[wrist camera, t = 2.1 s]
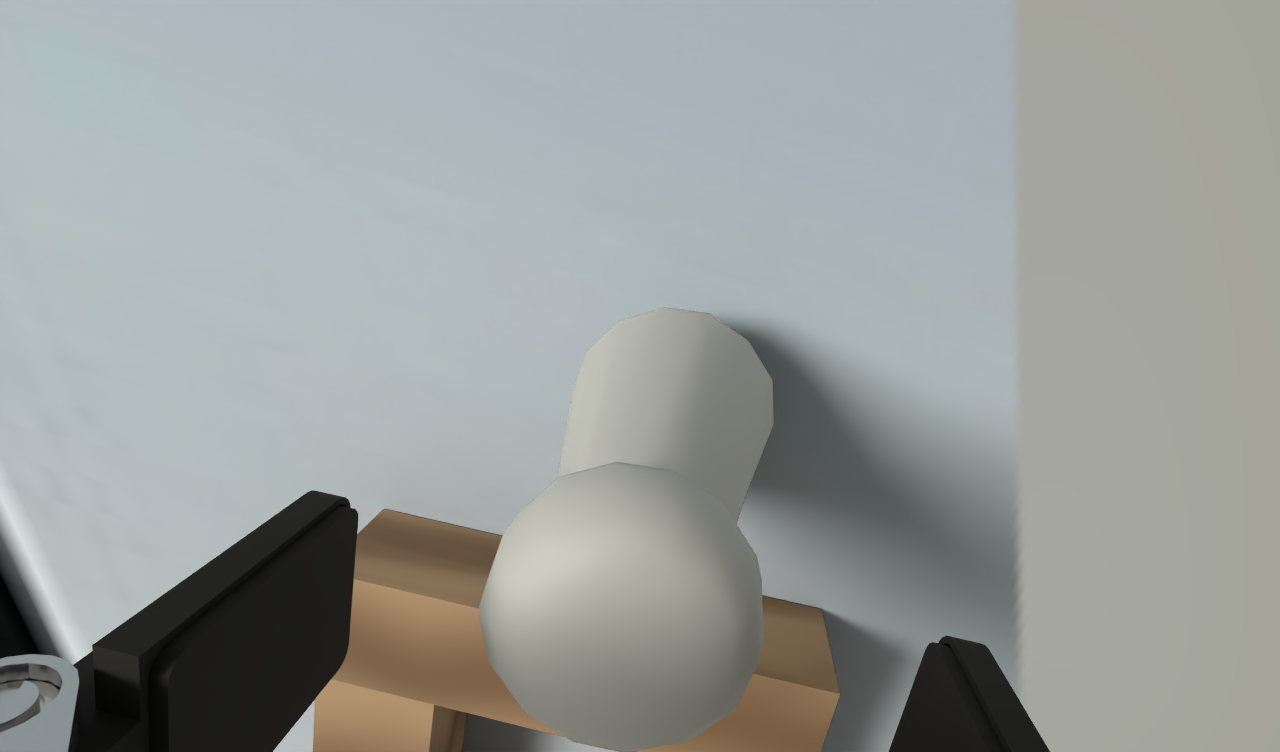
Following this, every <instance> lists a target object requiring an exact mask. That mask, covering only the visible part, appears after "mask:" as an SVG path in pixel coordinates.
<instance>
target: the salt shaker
mask: <svg viewBox="0 0 1280 752" xmlns="http://www.w3.org/2000/svg"><path fill="white" fill-rule="evenodd" d="M773 425H774V416H773V380H772V379H771V377H770V375H769V374H768V372H767V370H766V369H765V367H764V366H763V364H762V362H761V361H760V359H759V357H758V356H757V354H756V352H755V351H754V349H753V347H752V346H751V344H750V343H749V341H748V340H747V339H745V338H744V337H743V336H741V335H740V334H738V333H737V332H735V331H734V330H732V329H731V328H730V327H728V326H727V325H725V324H724V323H722V322H721V321H719V320H718V319H717V318H715V317H714V316H712V315H711V314H709V313H703V312H695V311H688V310H680V309H673V308H665V307H664V308H660V309H657V310H654V311H650V312H647V313H644V314H641V315H637V316H634V317H631V318H627V319H624V320H621V321H619V322H617V323H616V324H615V325H614V326H613V327H612V328H611V329H610V330H609V331H608V332H607V333H606V334H605V335H604V336H603V337H602V338H601V339H600V340H599V341H598V342H597V343H596V344H595V345H594V346H593V347H592V348H591V349H589V350H588V351H587V352H586V355H585V358H584V361H583V364H582V367H581V369H580V372H579V375H578V378H577V381H576V384H575V387H574V389H573V392H572V397H571V403H570V409H569V415H568V420H567V426H566V432H565V437H564V443H563V449H562V454H561V460H560V466H559V472H558V477H557V479H556V480H554V481H553V482H552V483H551V484H550V485H549V486H548V487H547V488H546V489H545V490H544V491H542V492H541V493H540V494H539V495H538V496H537V497H536V498H535V499H534V500H533V501H532V502H530V503H529V504H528V505H527V506H526V507H525V508H524V509H523V510H522V511H521V512H520V513H518V514H517V516H516V517H515V519H514V520H513V521H512V523H511V524H510V525H509V527H508V528H507V529H506V531H505V532H504V533H503V536H502V539H501V542H500V545H499V548H498V550H497V553H496V556H495V559H494V562H493V565H492V568H491V570H490V573H489V576H488V579H487V582H486V585H485V588H484V592H483V595H482V599H481V602H480V606H479V609H478V613H479V618H480V623H481V628H482V632H483V637H484V642H485V647H486V652H487V656H488V661H489V664H490V665H491V667H492V668H493V670H494V671H495V672H496V674H497V675H498V676H499V678H500V679H501V681H502V682H503V683H504V685H505V686H506V687H507V689H508V690H509V692H510V693H511V694H512V696H513V697H514V698H515V700H516V701H517V703H518V704H519V705H520V707H521V708H522V709H523V710H524V711H525V712H526V713H527V714H528V715H529V716H531V717H533V718H534V719H536V720H538V721H539V722H541V723H543V724H544V725H546V726H548V727H549V728H551V729H553V730H554V731H556V732H558V733H559V734H561V735H563V736H564V737H566V738H568V739H569V740H571V741H573V742H576V743H581V744H586V745H590V746H595V747H600V748H605V749H609V750H614V751H619V752H631V751H637V750H642V749H648V748H653V747H659V746H665V745H670V744H676V743H681V742H687V741H689V740H691V739H692V738H694V737H696V736H697V735H699V734H700V733H702V732H703V731H705V730H706V729H708V728H709V727H711V726H712V725H714V724H715V723H717V722H719V721H720V720H722V719H723V718H725V717H726V716H728V715H729V714H731V713H732V712H734V711H735V709H736V707H737V705H738V703H739V701H740V699H741V697H742V695H743V693H744V691H745V689H746V687H747V685H748V683H749V681H750V679H751V677H752V675H753V673H754V671H755V669H756V667H757V665H758V663H759V658H760V653H761V647H762V642H763V637H764V626H763V603H762V581H761V575H760V570H759V565H758V560H757V556H756V554H755V552H754V551H753V549H752V548H751V546H750V545H749V543H748V541H747V540H746V538H745V537H744V535H743V534H742V532H741V530H740V529H739V527H738V526H737V521H738V518H739V515H740V512H741V509H742V506H743V503H744V500H745V497H746V494H747V491H748V488H749V486H750V483H751V481H752V478H753V476H754V473H755V470H756V468H757V465H758V463H759V460H760V458H761V455H762V453H763V450H764V448H765V445H766V443H767V440H768V438H769V435H770V432H771V430H772V427H773Z"/></svg>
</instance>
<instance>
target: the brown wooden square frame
mask: <svg viewBox="0 0 1280 752" xmlns="http://www.w3.org/2000/svg"><path fill="white" fill-rule="evenodd" d="M501 539H502V536H500V535H495V534H491V533H487V532H482V531H478V530H474V529H469V528H465V527H461V526H456V525H452V524H447V523H443V522H439V521H434V520H430V519H426V518H421V517H417V516H413V515H408V514H404V513H399V512H395V511H391V510H386V509H383V510H382V511H381V512H380V513H379V514H378V515H377V516H376V517H375V518H374V519H373V520H372V521H371V522H370V523H369V524H368V525H367V526H366V527H365V528H363V529H362V530H361V531H360V532H359V533H358V534H357V542H356V555H355V569H354V582H353V595H352V609H351V622H350V636H349V646H348V651H347V655H346V657H345V660H344V662H343V664H342V666H341V667H340V669H339V670H338V671H337V673H336V674H335V675H334V676H333V678H332V679H331V680H330V681H329V683H328V684H327V685H326V686H325V687H324V689H323V690H322V691H321V692H320V694H319V695H318V696H317V697H316V699H315V713H314V740H313V752H462V747H463V739H464V731H465V724H466V716H467V713H470V714H474V715H478V716H482V717H486V718H490V719H494V720H498V721H502V722H506V723H510V724H514V725H518V726H522V727H526V728H530V729H534V730H538V731H542V732H546V733H550V734H554V735H558V736H563V735H561V734H559V733H558V732H556V731H554V730H553V729H551V728H549V727H548V726H546V725H544V724H543V723H541V722H539V721H538V720H536V719H534V718H533V717H531V716H529V715H528V714H527V713H526V712H525V711H524V710H523V709H522V708H521V707H520V705H519V704H518V703H517V701H516V700H515V698H514V697H513V696H512V694H511V693H510V692H509V690H508V689H507V687H506V686H505V685H504V683H503V682H502V681H501V679H500V678H499V676H498V675H497V674H496V672H495V671H494V670H493V668H492V667H491V665H490V664H489V661H488V656H487V652H486V647H485V642H484V637H483V632H482V628H481V623H480V618H479V613H478V609H479V606H480V602H481V599H482V595H483V592H484V588H485V585H486V582H487V579H488V576H489V573H490V570H491V568H492V565H493V562H494V559H495V556H496V553H497V550H498V548H499V545H500V542H501ZM762 603H763V626H764V637H763V642H762V647H761V653H760V658H759V663H758V665H757V667H756V669H755V671H754V673H753V675H752V677H751V679H750V681H749V683H748V685H747V687H746V689H745V691H744V693H743V695H742V697H741V699H740V701H739V703H738V705H737V707H736V709H735V711H734V712H732V713H731V714H729V715H728V716H726V717H725V718H723V719H722V720H720V721H719V722H717V723H715V724H714V725H712V726H711V727H709V728H708V729H706V730H705V731H703V732H702V733H700V734H699V735H697V736H696V737H694V738H692V739H691V740H689V741H687V742H681V743H676V744H670V745H665V746H659V747H653V748H648V749H642V750H637V751H631V752H821V749H822V747H823V744H824V741H825V738H826V735H827V732H828V729H829V726H830V723H831V720H832V717H833V714H834V711H835V708H836V706H837V703H838V700H839V697H840V691H839V686H838V682H837V677H836V673H835V668H834V664H833V659H832V655H831V651H830V646H829V642H828V637H827V633H826V628H825V624H824V619H823V615H822V610H821V609H818V608H814V607H809V606H805V605H801V604H796V603H792V602H788V601H783V600H779V599H774V598H770V597H766V596H762ZM563 737H564V736H563Z"/></svg>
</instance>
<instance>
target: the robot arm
mask: <svg viewBox="0 0 1280 752" xmlns="http://www.w3.org/2000/svg"><path fill="white" fill-rule="evenodd" d="M357 528H358V513H357V511H356V510H355V509H352V508H350V503H349V500H348V499H347V498H345V497H340V496H336V495H332V494H327V493H323V492H319V491H310V492H308V493H306V494H305V495H303V496H302V497H300V498H299V499H298V500H296V501H295V502H293V503H292V504H290V505H289V506H288V507H286V508H285V509H283V510H282V511H281V512H279V513H278V514H276V515H275V516H274V517H272V518H271V519H269V520H268V521H267V522H265V523H264V524H262V525H261V526H259V527H258V528H257V529H255V530H254V531H252V532H251V533H250V534H248V535H247V536H245V537H244V538H243V539H241V540H240V541H238V542H237V543H236V544H234V545H233V546H231V547H230V548H229V549H227V550H226V551H224V552H223V553H221V554H220V555H219V556H217V557H216V558H214V559H213V560H212V561H210V562H209V563H207V564H206V565H205V566H203V567H202V568H200V569H199V570H198V571H196V572H195V573H193V574H192V575H191V576H189V577H188V578H186V579H185V580H183V581H182V582H181V583H179V584H178V585H176V586H175V587H174V588H172V589H171V590H169V591H168V592H167V593H165V594H164V595H162V596H161V597H160V598H158V599H157V600H155V601H154V602H152V603H151V604H150V605H148V606H147V607H145V608H144V609H143V610H141V611H140V612H138V613H137V614H136V615H134V616H133V617H131V618H130V619H129V620H127V621H126V622H124V623H123V624H122V625H120V626H119V627H117V628H116V629H114V630H113V631H112V632H110V633H109V634H107V635H106V636H105V637H103V638H102V639H100V640H99V641H98V642H96V643H95V644H93V645H92V647H93V651H92V652H91V653H89V654H88V655H87V656H85V657H84V658H82V659H81V660H80V661H78V662H77V663H75V664H74V665H72V664H71V663H70V662H69V661H67V660H64V659H61V658H58V657H55V656H50V655H36V654H30V655H21V656H12V657H6V658H2V659H0V752H273V750H274V749H275V748H276V747H277V745H278V744H279V743H280V742H281V740H282V739H283V738H284V737H285V736H286V734H287V733H288V732H289V731H290V729H291V728H292V727H293V726H294V724H295V723H296V722H297V721H298V720H299V718H300V717H301V716H302V715H303V713H304V712H305V711H306V710H307V708H308V707H309V706H310V705H311V703H312V702H313V701H314V700H315V699H316V697H317V696H318V695H319V694H320V692H321V691H322V690H323V689H324V687H325V686H326V685H327V684H328V683H329V681H330V680H331V679H332V678H333V676H334V675H335V674H336V673H337V671H338V670H339V669H340V667H341V666H342V664H343V662H344V660H345V657H346V655H347V651H348V646H349V636H350V622H351V609H352V595H353V582H354V569H355V555H356V542H357ZM889 752H1050V751H1049V749H1048V748H1047V746H1046V744H1045V743H1044V741H1043V740H1042V738H1041V736H1040V734H1039V733H1038V731H1037V729H1036V728H1035V726H1034V724H1033V723H1032V721H1031V719H1030V718H1029V716H1028V714H1027V713H1026V711H1025V709H1024V708H1023V706H1022V704H1021V702H1020V701H1019V699H1018V697H1017V696H1016V694H1015V692H1014V691H1013V689H1012V687H1011V686H1010V684H1009V682H1008V681H1007V679H1006V677H1005V676H1004V674H1003V672H1002V671H1001V669H1000V667H999V666H998V664H997V662H996V661H995V659H994V657H993V656H992V654H991V652H990V650H989V649H988V648H987V647H986V646H985V645H983V644H980V643H976V642H972V641H967V640H963V639H958V638H954V637H950V636H945V637H943V638H942V639H941V640H940V641H939V643H933V642H932V643H930V644H929V645H928V646H927V648H926V650H925V653H924V655H923V658H922V661H921V664H920V666H919V669H918V672H917V675H916V678H915V680H914V683H913V686H912V689H911V691H910V694H909V697H908V700H907V703H906V705H905V708H904V711H903V714H902V716H901V719H900V722H899V725H898V728H897V730H896V733H895V736H894V739H893V741H892V744H891V747H890V750H889Z"/></svg>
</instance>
